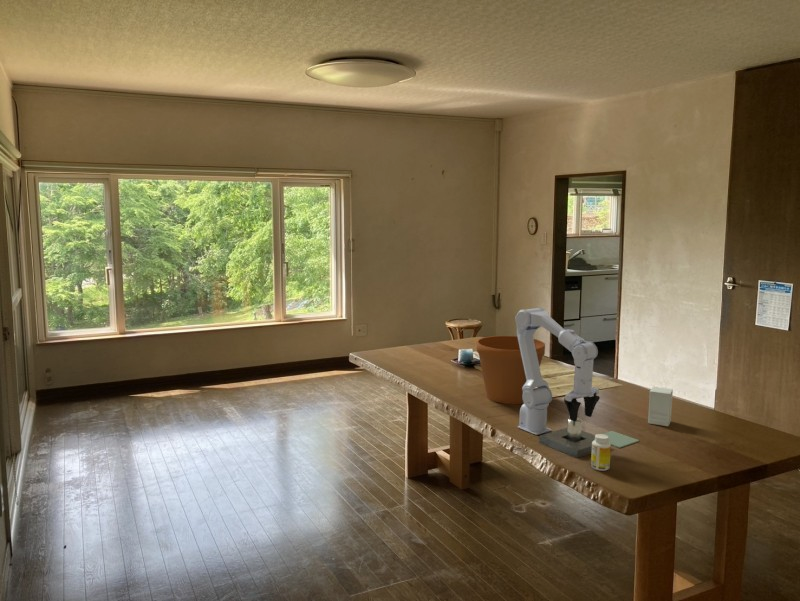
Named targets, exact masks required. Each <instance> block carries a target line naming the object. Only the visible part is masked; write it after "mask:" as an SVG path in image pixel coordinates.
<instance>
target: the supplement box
mask: <svg viewBox="0 0 800 601" xmlns="http://www.w3.org/2000/svg"><path fill="white" fill-rule="evenodd" d="M673 391H674V390H673V388H667V387H659V386H652V388H651V389H650V390H649V398H648V399H649V401H648V418H647V423H648V424H651V425H655V426H656V425H657V426H663V427H669V426H670V424H671V421H672V409H673V408H672V406H673V394H674V392H673Z"/></svg>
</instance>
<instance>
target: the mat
mask: <svg viewBox="0 0 800 601" xmlns="http://www.w3.org/2000/svg"><path fill="white" fill-rule="evenodd" d="M603 434H604V435H607V436H608V437H609V442H610V444H611V447H612V446H613V447H615V448H618V449H621V448H624V447H627V446H630V445H633V444H636V443H639V442H640V439H638V438H634V437H631V436H628V435H625V434H622V433H619V432H617V431H614V430H610V431H607V432H605V433H603Z"/></svg>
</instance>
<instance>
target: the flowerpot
mask: <svg viewBox="0 0 800 601" xmlns="http://www.w3.org/2000/svg"><path fill="white" fill-rule="evenodd" d="M533 339H534V343H535V348H536V353H537V357H538V362H539V367H541V363H542V360H543V356H545V354H546V342H544V341H542V340H539V339H535V338H533ZM476 352H477V353H478V357H479V358H478V359H479V363H480V368H481V373H482V377H483V378H482V379H483V382H484V388H485V392H486V393H485V394H486V398H487V399H488V400H490V401H493V402H496V403H498V404H499V403H500V404H506V405H517V404H518V405H519V404H524V402H523V399H522V395H523V390H522V387H523V386H524V384H525V383H526V381H527V380H526V375H525V370H524V366H523V361H522V356H521V351H520V347H519V342H518V337H517V335H493V336H492V335H491V336H486V337H481V338H479V339H477V340H476Z"/></svg>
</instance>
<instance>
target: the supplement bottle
mask: <svg viewBox="0 0 800 601" xmlns="http://www.w3.org/2000/svg"><path fill="white" fill-rule="evenodd" d="M594 435H595V440H594V441H593V442H592V453H590V454H591V455H590V456H591V457H590V466H591V468H592V469H593V470H596V471H599V472H600V471H601V472H602V471H603V472H605V471H607V470H610V467H611V466H610V465H611V453H612V452H611V449H612V448H611V447H612V445H611V444H610V442H608V441H609V437H608V436H607V435H604V433H597V434H594Z"/></svg>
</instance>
